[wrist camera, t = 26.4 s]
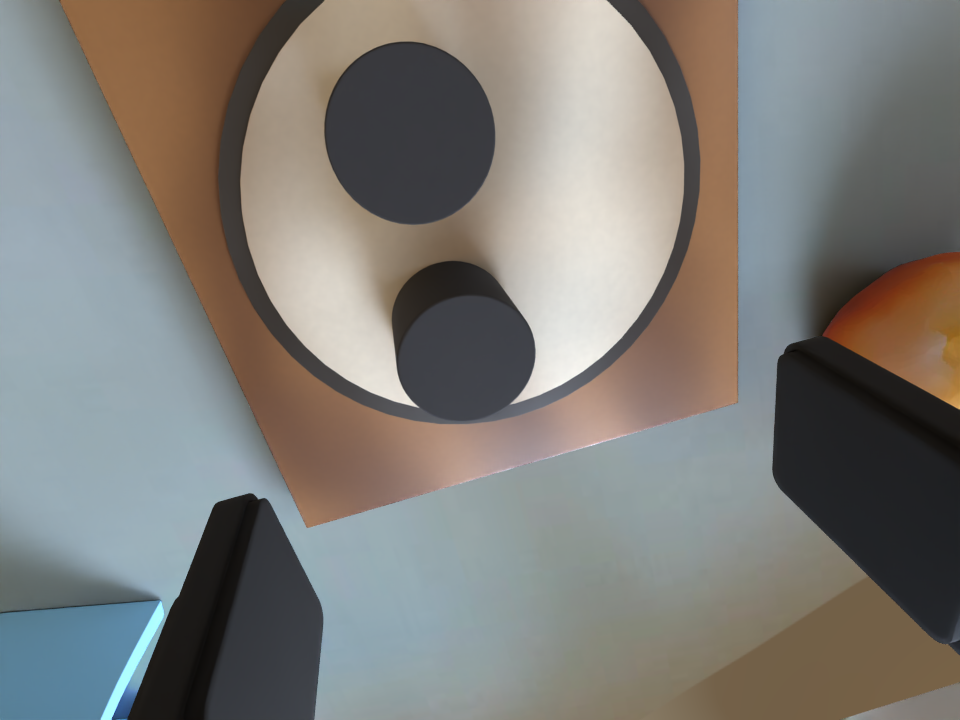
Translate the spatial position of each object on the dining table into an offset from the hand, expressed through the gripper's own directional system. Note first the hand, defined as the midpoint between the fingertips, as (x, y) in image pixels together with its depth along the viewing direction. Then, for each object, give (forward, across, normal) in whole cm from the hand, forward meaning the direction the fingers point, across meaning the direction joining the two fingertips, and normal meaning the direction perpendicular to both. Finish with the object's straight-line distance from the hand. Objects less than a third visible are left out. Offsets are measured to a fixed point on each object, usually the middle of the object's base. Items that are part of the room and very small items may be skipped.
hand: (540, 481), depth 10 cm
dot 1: (+10, 0, -6) cm, 11 cm away
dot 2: (+10, 0, 0) cm, 10 cm away
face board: (+11, -1, -2) cm, 11 cm away
